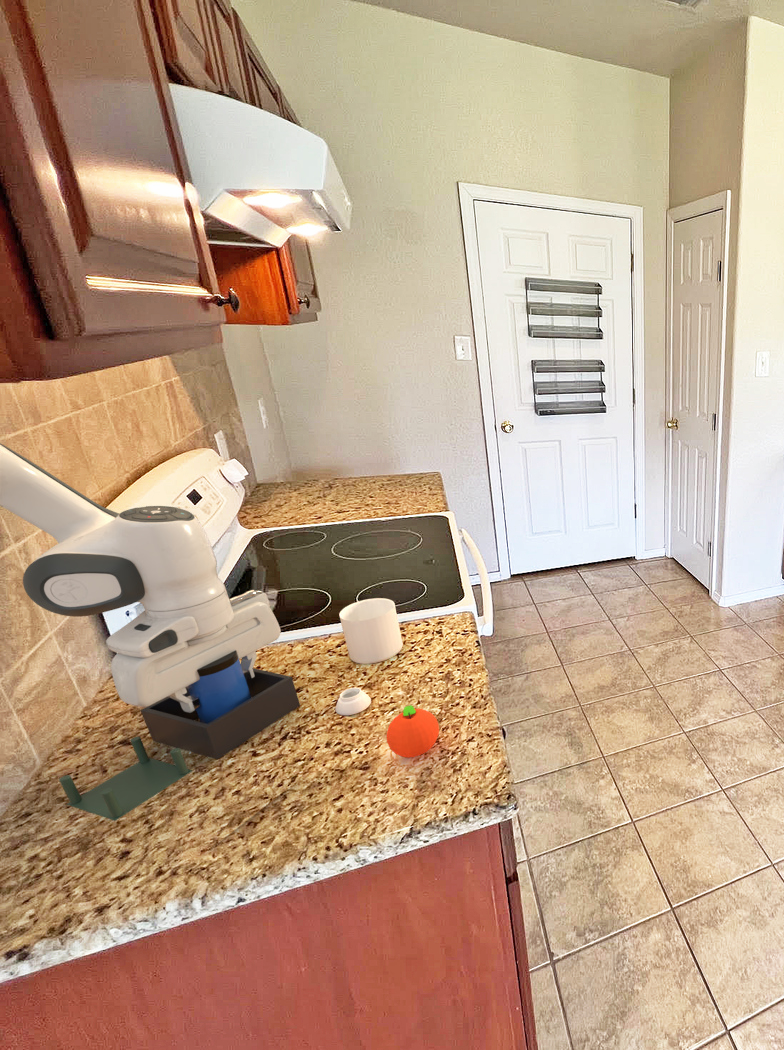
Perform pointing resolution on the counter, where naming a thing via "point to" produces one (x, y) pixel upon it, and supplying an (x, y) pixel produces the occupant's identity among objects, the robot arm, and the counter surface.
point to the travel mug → (220, 687)
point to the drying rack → (128, 784)
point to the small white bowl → (352, 702)
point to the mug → (371, 630)
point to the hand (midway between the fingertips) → (220, 693)
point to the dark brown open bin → (223, 717)
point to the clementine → (412, 732)
